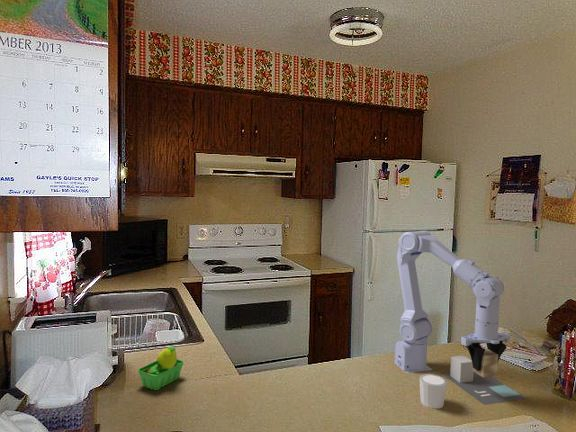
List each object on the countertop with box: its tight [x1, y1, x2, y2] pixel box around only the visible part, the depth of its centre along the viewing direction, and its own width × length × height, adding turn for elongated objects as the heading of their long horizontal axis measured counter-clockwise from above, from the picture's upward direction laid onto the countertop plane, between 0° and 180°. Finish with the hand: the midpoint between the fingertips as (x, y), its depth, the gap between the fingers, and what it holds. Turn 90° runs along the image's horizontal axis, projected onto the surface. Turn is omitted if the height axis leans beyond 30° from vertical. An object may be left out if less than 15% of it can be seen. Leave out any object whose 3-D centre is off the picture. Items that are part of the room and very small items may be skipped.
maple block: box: [472, 347, 499, 377], centre depth 109 cm, size 4×4×6 cm
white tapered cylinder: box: [419, 373, 448, 410], centre depth 105 cm, size 7×7×7 cm
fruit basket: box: [137, 345, 185, 391], centre depth 114 cm, size 11×9×11 cm
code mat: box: [441, 372, 528, 406], centre depth 115 cm, size 14×18×1 cm
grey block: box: [449, 355, 474, 383], centre depth 118 cm, size 4×4×6 cm
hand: (484, 368), depth 110 cm, fingers closed on maple block, 4 cm apart
